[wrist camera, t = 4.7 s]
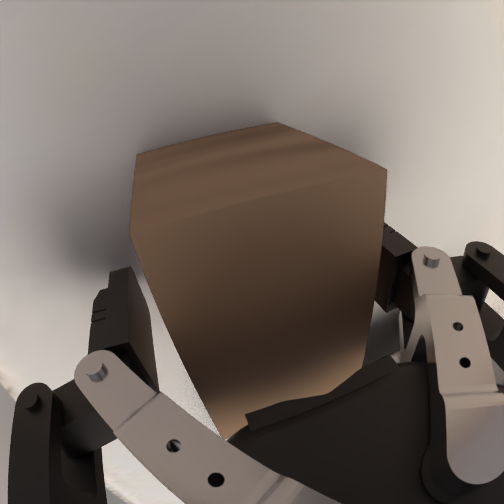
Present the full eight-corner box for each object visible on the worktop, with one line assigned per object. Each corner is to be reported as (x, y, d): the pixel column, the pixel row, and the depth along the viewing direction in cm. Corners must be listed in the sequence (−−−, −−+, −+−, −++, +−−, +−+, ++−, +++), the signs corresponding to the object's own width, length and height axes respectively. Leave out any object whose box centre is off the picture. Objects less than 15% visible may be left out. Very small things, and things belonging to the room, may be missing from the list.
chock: (136, 154, 10) (129, 234, 5) (276, 122, 11) (387, 169, 6) (190, 324, 14) (223, 439, 9) (292, 293, 15) (356, 389, 10)
